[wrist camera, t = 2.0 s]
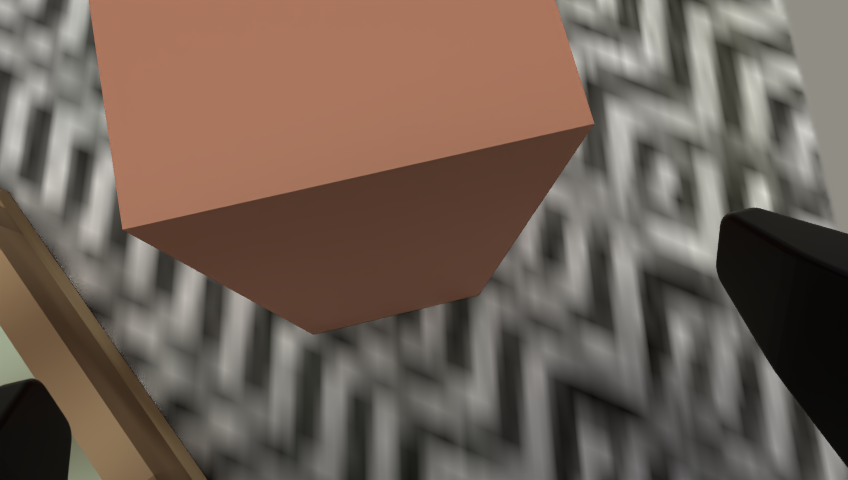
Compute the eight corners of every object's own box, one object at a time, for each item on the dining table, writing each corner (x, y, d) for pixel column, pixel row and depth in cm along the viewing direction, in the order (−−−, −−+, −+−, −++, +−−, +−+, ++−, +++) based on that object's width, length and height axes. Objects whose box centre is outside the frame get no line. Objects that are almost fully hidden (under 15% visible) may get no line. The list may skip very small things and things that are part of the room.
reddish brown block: (478, 294, 20) (594, 123, 7) (313, 334, 19) (121, 230, 7) (438, 140, 21) (476, -251, 8) (280, 175, 20) (62, -175, 8)
